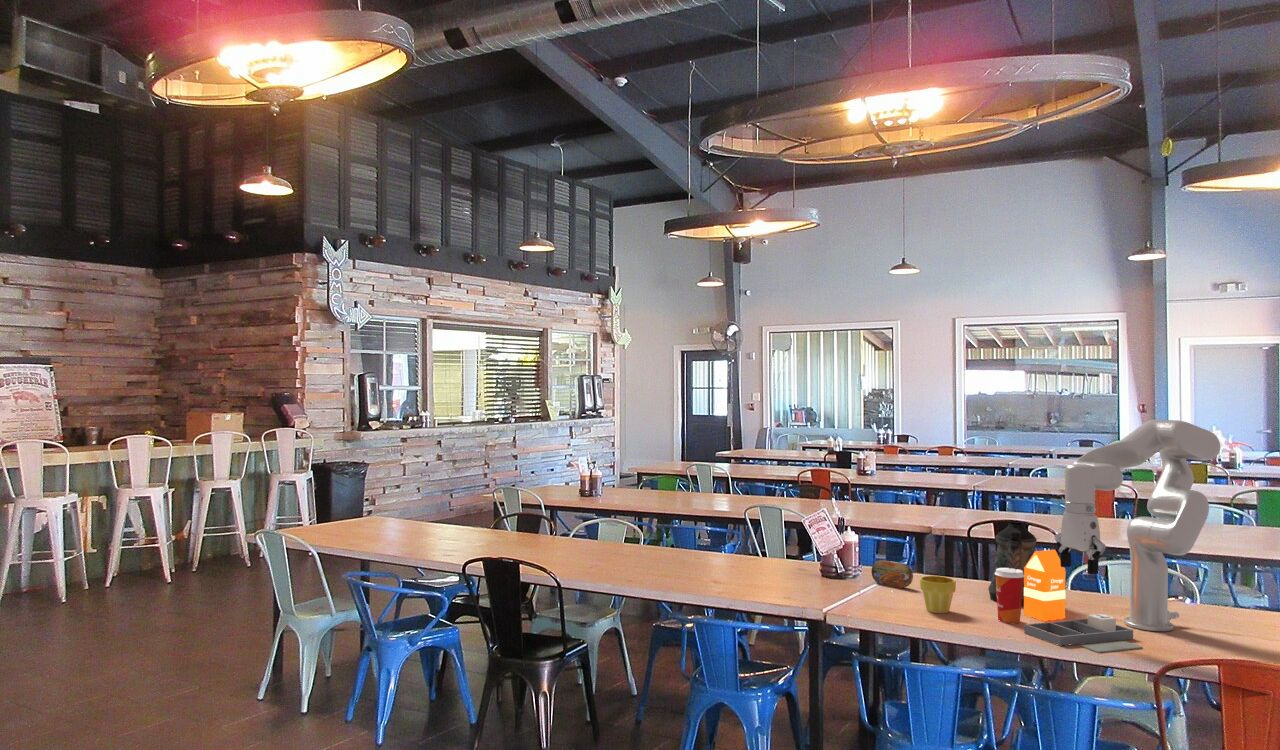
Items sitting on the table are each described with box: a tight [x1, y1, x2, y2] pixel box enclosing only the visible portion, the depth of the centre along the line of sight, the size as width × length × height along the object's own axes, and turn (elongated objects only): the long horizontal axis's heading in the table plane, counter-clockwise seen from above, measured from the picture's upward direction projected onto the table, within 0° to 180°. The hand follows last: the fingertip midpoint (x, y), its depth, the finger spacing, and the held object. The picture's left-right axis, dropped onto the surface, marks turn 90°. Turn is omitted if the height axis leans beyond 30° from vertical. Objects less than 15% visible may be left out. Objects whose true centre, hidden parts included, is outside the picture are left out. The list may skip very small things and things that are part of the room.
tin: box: [870, 559, 914, 589], centre depth 314 cm, size 15×3×8 cm, turn 43°
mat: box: [1079, 640, 1143, 654], centre depth 242 cm, size 15×6×1 cm, turn 109°
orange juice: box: [1023, 549, 1066, 622], centre depth 274 cm, size 8×9×20 cm
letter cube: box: [1087, 613, 1117, 632], centre depth 256 cm, size 5×5×5 cm
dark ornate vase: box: [987, 522, 1038, 607], centre depth 293 cm, size 16×19×25 cm
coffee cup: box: [995, 568, 1025, 624], centre depth 268 cm, size 8×8×15 cm
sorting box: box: [1024, 618, 1134, 647], centre depth 253 cm, size 25×13×2 cm, turn 109°
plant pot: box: [919, 575, 957, 614], centre depth 279 cm, size 10×10×10 cm
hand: (1079, 570), depth 253 cm, fingers open, 9 cm apart
